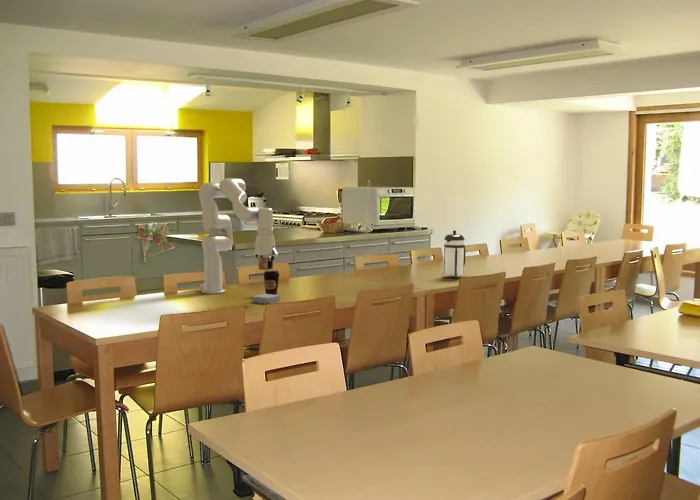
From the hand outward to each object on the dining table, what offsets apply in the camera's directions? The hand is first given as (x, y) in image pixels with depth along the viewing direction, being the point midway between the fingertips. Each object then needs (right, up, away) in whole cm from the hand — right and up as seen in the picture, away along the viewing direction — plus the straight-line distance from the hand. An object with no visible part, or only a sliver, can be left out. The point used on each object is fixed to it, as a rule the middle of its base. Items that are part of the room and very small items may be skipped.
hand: (265, 267), depth 362 cm
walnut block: (0, -1, 0) cm, 1 cm away
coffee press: (+109, -8, +94) cm, 144 cm away
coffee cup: (+1, -15, +22) cm, 27 cm away
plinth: (0, -17, +2) cm, 17 cm away
